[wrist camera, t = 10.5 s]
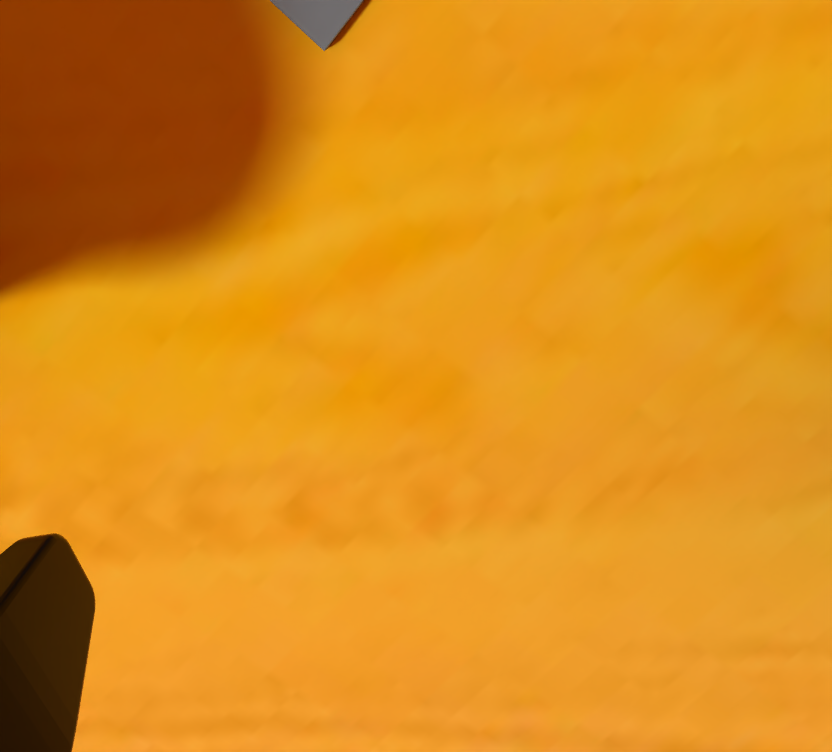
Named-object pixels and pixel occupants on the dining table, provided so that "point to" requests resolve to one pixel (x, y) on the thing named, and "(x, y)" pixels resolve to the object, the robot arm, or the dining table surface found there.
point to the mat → (319, 17)
